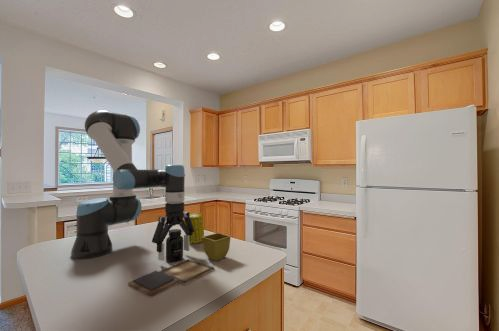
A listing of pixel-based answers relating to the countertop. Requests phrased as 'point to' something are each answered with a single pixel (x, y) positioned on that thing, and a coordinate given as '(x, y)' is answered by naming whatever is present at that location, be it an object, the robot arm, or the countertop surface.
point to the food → (196, 228)
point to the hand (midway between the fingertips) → (174, 254)
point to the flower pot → (216, 245)
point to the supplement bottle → (174, 246)
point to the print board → (187, 271)
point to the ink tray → (154, 292)
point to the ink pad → (153, 280)
